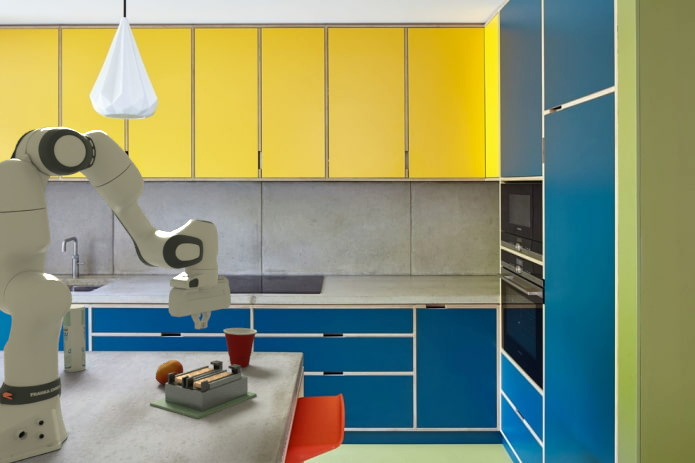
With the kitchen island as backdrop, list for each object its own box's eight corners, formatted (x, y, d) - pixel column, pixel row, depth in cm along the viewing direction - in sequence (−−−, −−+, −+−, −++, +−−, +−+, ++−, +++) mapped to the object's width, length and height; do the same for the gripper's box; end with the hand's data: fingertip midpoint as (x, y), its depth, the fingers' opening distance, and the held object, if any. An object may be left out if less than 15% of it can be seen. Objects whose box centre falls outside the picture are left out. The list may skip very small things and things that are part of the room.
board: (197, 419, 162) (197, 416, 162) (150, 405, 172) (150, 402, 172) (256, 395, 180) (256, 393, 180) (210, 384, 190) (210, 382, 190)
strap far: (182, 383, 171) (182, 379, 171) (174, 381, 172) (174, 377, 172) (214, 372, 181) (214, 369, 181) (207, 371, 182) (207, 367, 182)
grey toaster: (202, 412, 165) (202, 381, 165) (165, 401, 173) (164, 372, 172) (247, 394, 179) (247, 366, 179) (211, 385, 187) (211, 358, 186)
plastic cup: (264, 364, 212) (264, 328, 211) (241, 372, 203) (241, 334, 202) (239, 359, 218) (239, 324, 217) (216, 366, 209) (216, 330, 208)
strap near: (200, 388, 167) (200, 384, 167) (193, 386, 169) (193, 382, 169) (233, 376, 177) (233, 373, 177) (225, 375, 179) (225, 371, 179)
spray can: (88, 369, 204) (87, 307, 202) (66, 373, 200) (64, 309, 199) (83, 365, 209) (82, 304, 208) (62, 368, 206) (60, 305, 204)
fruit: (182, 384, 186) (168, 359, 186) (160, 396, 187) (147, 372, 188) (194, 376, 193) (181, 352, 194) (173, 387, 195) (160, 364, 195)
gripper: (220, 274, 187) (219, 321, 188) (164, 281, 170) (164, 332, 171) (236, 275, 184) (235, 323, 185) (181, 283, 167) (181, 336, 168)
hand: (201, 328), depth 178 cm, fingers closed
